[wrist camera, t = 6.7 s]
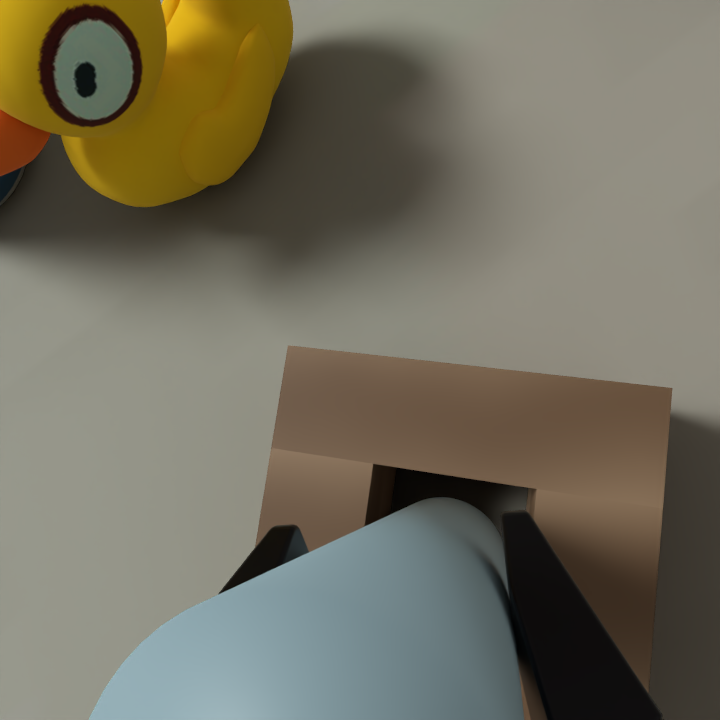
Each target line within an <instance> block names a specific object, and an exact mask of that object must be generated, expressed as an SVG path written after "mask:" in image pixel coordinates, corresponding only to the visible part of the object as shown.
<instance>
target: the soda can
mask: <svg viewBox="0 0 720 720" xmlns="http://www.w3.org/2000/svg"><path fill="white" fill-rule="evenodd" d="M25 166H26V165H24V166H23V167H21V168H18V169H16V170H14V171H12V172H10V173H7V174H5V175H2V176H0V206H1V205H2V204H3V203H4V202H5V201H6V200H7V199H8V198H9V197H10V195H11V194H12V193H13V191H14V190H15V188H16V187H17V185H18V183H19V181H20V179H21V177H22V175H23V172H24V169H25Z"/></svg>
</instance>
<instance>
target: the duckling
mask: <svg viewBox="0 0 720 720" xmlns="http://www.w3.org/2000/svg"><path fill="white" fill-rule="evenodd" d="M292 40H293V22H292V15H291V10H290V6H289V1H288V0H163V2H162V5H161V3H160V0H0V176H2V175H5V174H7V173H10V172H12V171H14V170H16V169H18V168H21V167H23V166H24V165H26V164H28V163H30V162H31V161H32V160H33V159H35V157H36V156H37V155H38V154H39V153H40V152H41V150H42V149H43V147H44V146H45V144H46V142H47V141H48V139H49V137H50V134H51V133H54V134H58V135H61V138H62V142H63V145H64V148H65V151H66V153H67V155H68V157H69V159H70V161H71V163H72V165H73V167H74V168H75V170H76V171H77V173H78V174H79V175H80V177H81V178H82V179H83V180H84V181H85V182H86V183H87V184H88V185H89V186H90V187H92V188H93V189H94V190H96V191H97V192H99V193H100V194H102V195H104V196H106V197H108V198H110V199H112V200H114V201H117V202H120V203H122V204H126V205H130V206H135V207H152V206H158V205H162V204H166V203H170V202H173V201H176V200H179V199H183V198H185V197H188V196H191V195H193V194H195V193H197V192H199V191H201V190H203V189H205V188H206V187H208V186H209V185H217V184H220V183H223V182H225V181H226V180H228V179H229V178H230V177H232V176H233V175H234V174H235V172H236V171H237V170H238V169H239V168H240V167H241V165H242V164H243V163H244V162H245V160H246V159H247V158H248V157H249V156H250V154H251V153H252V152H253V150H254V149H255V147H256V145H257V143H258V141H259V139H260V136H261V134H262V131H263V128H264V126H265V123H266V120H267V117H268V113H269V110H270V106H271V102H272V98H273V96H274V94H275V92H276V90H277V88H278V86H279V84H280V81H281V79H282V77H283V74H284V72H285V69H286V67H287V63H288V60H289V56H290V51H291V47H292Z"/></svg>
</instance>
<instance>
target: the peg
mask: <svg viewBox="0 0 720 720" xmlns="http://www.w3.org/2000/svg"><path fill="white" fill-rule="evenodd" d="M89 720H524V712H523V702H522V693H521V683H520V674H519V664H518V654H517V645H516V636H515V631H514V626H513V621H512V615H511V607H510V599H509V591H508V582H507V574H506V565H505V556H504V546H503V540H502V538H501V535H500V533H499V532H498V530H497V528H496V527H495V525H494V524H493V523H492V522H491V520H490V519H489V518H488V517H487V516H486V515H485V514H484V513H483V512H481V511H480V510H478V509H477V508H476V507H474V506H472V505H470V504H469V503H466V502H464V501H461V500H458V499H454V498H447V497H434V498H428V499H424V500H421V501H419V502H416V503H414V504H412V505H410V506H408V507H406V508H403V509H401V510H399V511H397V512H395V513H393V514H390V515H388V516H386V517H384V518H382V519H380V520H378V521H375V522H373V523H371V524H369V525H367V526H365V527H363V528H360V529H358V530H356V531H354V532H352V533H350V534H348V535H345V536H343V537H341V538H339V539H337V540H335V541H332V542H330V543H328V544H326V545H324V546H322V547H320V548H317V549H315V550H313V551H311V552H309V553H307V554H305V555H302V556H300V557H298V558H296V559H294V560H292V561H290V562H287V563H285V564H283V565H281V566H279V567H277V568H274V569H272V570H270V571H268V572H266V573H264V574H262V575H259V576H257V577H255V578H253V579H251V580H249V581H247V582H244V583H242V584H240V585H238V586H236V587H234V588H232V589H229V590H227V591H225V592H223V593H221V594H219V595H216V596H214V597H212V598H210V599H208V600H206V601H204V602H201V603H199V604H197V605H195V606H193V607H191V608H189V609H186V610H185V611H183V612H182V613H180V614H178V615H177V616H175V617H174V618H172V619H171V620H169V621H167V622H166V623H164V624H163V625H162V626H160V627H159V628H158V629H157V630H156V631H154V632H153V633H152V634H151V635H150V636H149V637H147V638H146V639H145V640H144V641H143V642H141V643H140V645H139V646H138V647H137V648H136V649H135V650H134V651H133V652H132V653H131V655H130V656H129V657H128V658H127V659H126V660H125V661H124V662H123V663H122V665H121V666H120V667H119V669H118V670H117V672H116V673H115V675H114V676H113V677H112V679H111V680H110V682H109V683H108V685H107V686H106V687H105V689H104V691H103V693H102V695H101V697H100V698H99V700H98V702H97V704H96V706H95V708H94V710H93V712H92V714H91V715H90V718H89Z"/></svg>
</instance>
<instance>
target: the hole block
mask: <svg viewBox="0 0 720 720" xmlns="http://www.w3.org/2000/svg"><path fill="white" fill-rule="evenodd" d="M671 397H672V388H666V387H657V386H648V385H639V384H630V383H621V382H612V381H603V380H594V379H585V378H576V377H567V376H558V375H549V374H540V373H531V372H522V371H513V370H504V369H495V368H486V367H477V366H468V365H459V364H450V363H441V362H432V361H423V360H414V359H405V358H396V357H387V356H378V355H369V354H360V353H351V352H342V351H333V350H324V349H315V348H306V347H297V346H288V349H287V355H286V361H285V367H284V373H283V380H282V386H281V392H280V398H279V404H278V410H277V416H276V423H275V429H274V435H273V441H272V447H271V453H270V459H269V466H268V472H267V478H266V484H265V490H264V496H263V502H262V509H261V515H260V521H259V527H258V533H257V539H256V545H255V547H256V546H257V545H258V543H259V542H260V541H261V540H262V538H263V537H264V536H265V535H266V533H267V532H268V531H269V530H270V529H271V528H272V527H274V526H276V525H290V524H294V525H297V526H298V527H299V529H300V530H301V533H302V535H303V538H304V540H305V543H306V546H307V548H308V551H309V552H311V551H313V550H315V549H317V548H320V547H322V546H324V545H326V544H328V543H330V542H332V541H335V540H337V539H339V538H341V537H343V536H345V535H348V534H350V533H352V532H354V531H356V530H358V529H360V528H363V527H365V526H367V525H369V524H371V523H373V522H375V521H378V520H380V519H382V518H384V517H386V516H388V515H390V512H391V504H392V497H393V490H394V482H395V475H396V468H397V467H398V468H404V469H410V470H417V471H423V472H430V473H436V474H443V475H449V476H456V477H462V478H469V479H475V480H482V481H488V482H495V483H501V484H508V485H514V486H520V487H527V488H528V497H527V506H526V511H527V512H528V513H529V514H530V515H531V516H532V518H533V519H534V521H535V522H536V524H537V525H538V527H539V528H540V530H541V531H542V533H543V534H544V536H545V537H546V539H547V540H548V542H549V543H550V545H551V546H552V548H553V550H554V551H555V553H556V554H557V556H558V557H559V559H560V560H561V562H562V563H563V565H564V566H565V568H566V569H567V571H568V572H569V574H570V575H571V577H572V578H573V580H574V581H575V583H576V584H577V586H578V587H579V589H580V590H581V592H582V594H583V595H584V597H585V598H586V600H587V601H588V603H589V604H590V606H591V607H592V609H593V610H594V612H595V613H596V615H597V616H598V618H599V619H600V621H601V622H602V624H603V625H604V627H605V628H606V630H607V631H608V633H609V634H610V636H611V637H612V639H613V641H614V642H615V644H616V645H617V647H618V648H619V650H620V651H621V653H622V654H623V656H624V657H625V659H626V660H627V662H628V663H629V665H630V666H631V668H632V669H633V671H634V672H635V674H636V675H637V677H638V678H639V680H640V681H641V683H642V685H643V686H644V688H645V689H646V691H647V692H648V694H649V682H650V669H651V656H652V643H653V630H654V617H655V604H656V591H657V578H658V565H659V552H660V539H661V527H662V514H663V501H664V488H665V475H666V462H667V449H668V436H669V423H670V410H671ZM519 674H520V670H519ZM520 683H521V693H522V702H523V712H524V720H531V718H530V714H529V710H528V705H527V701H526V697H525V692H524V688H523V684H522V680H521V675H520Z"/></svg>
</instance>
